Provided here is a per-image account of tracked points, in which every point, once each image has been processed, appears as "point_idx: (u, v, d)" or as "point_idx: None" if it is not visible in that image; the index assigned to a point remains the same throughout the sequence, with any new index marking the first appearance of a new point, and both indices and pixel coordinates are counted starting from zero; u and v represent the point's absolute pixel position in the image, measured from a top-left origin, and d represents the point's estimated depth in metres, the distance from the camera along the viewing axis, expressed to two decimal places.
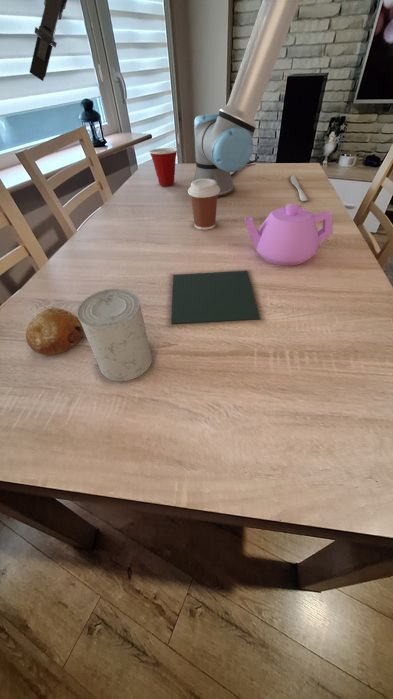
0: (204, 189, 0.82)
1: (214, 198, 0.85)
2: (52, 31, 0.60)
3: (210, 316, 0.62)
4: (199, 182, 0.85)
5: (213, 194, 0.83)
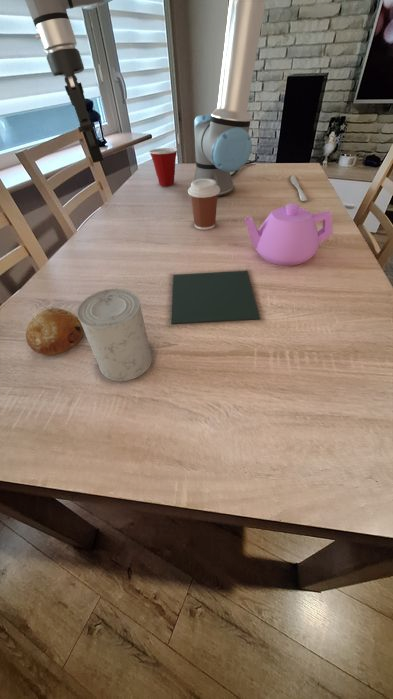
0: (204, 189, 0.82)
1: (214, 198, 0.85)
2: (88, 118, 0.69)
3: (210, 316, 0.62)
4: (199, 182, 0.85)
5: (213, 194, 0.83)
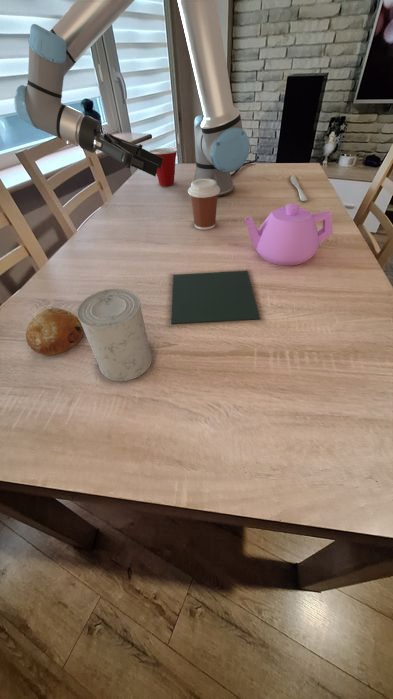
0: (204, 189, 0.82)
1: (214, 198, 0.85)
2: (122, 153, 0.73)
3: (210, 316, 0.62)
4: (199, 182, 0.85)
5: (213, 194, 0.83)
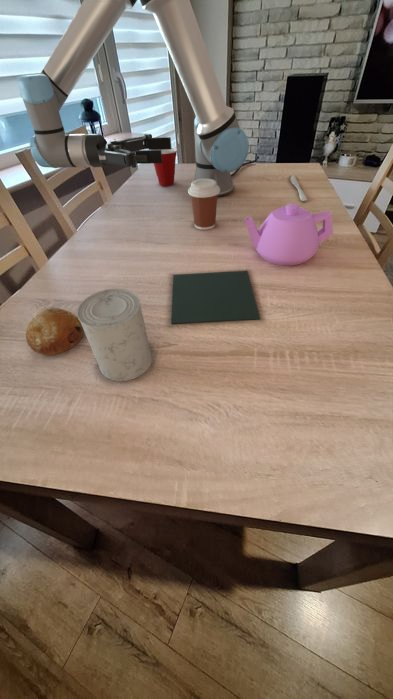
0: (204, 189, 0.82)
1: (214, 198, 0.85)
2: (123, 156, 0.73)
3: (210, 316, 0.62)
4: (199, 182, 0.85)
5: (213, 194, 0.83)
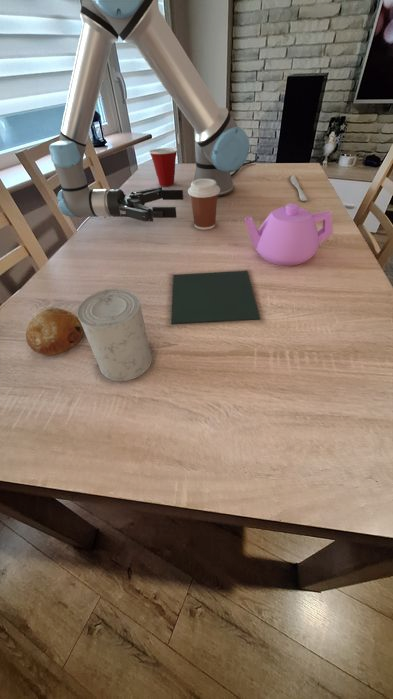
0: (204, 189, 0.82)
1: (214, 198, 0.85)
2: (142, 213, 0.83)
3: (210, 316, 0.62)
4: (199, 182, 0.85)
5: (213, 194, 0.83)
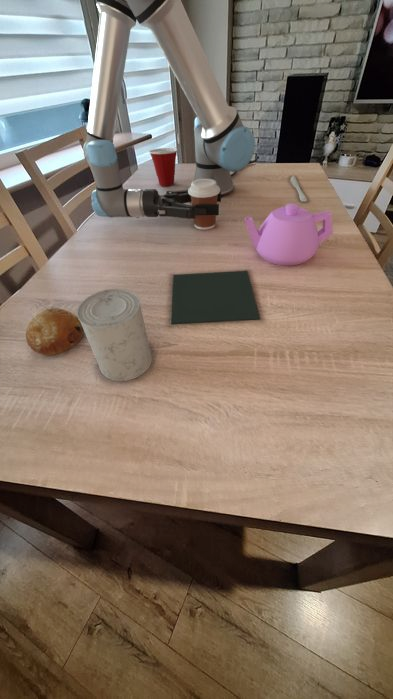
0: (204, 189, 0.82)
1: (214, 198, 0.85)
2: (186, 210, 0.82)
3: (210, 316, 0.62)
4: (199, 182, 0.85)
5: (213, 194, 0.83)
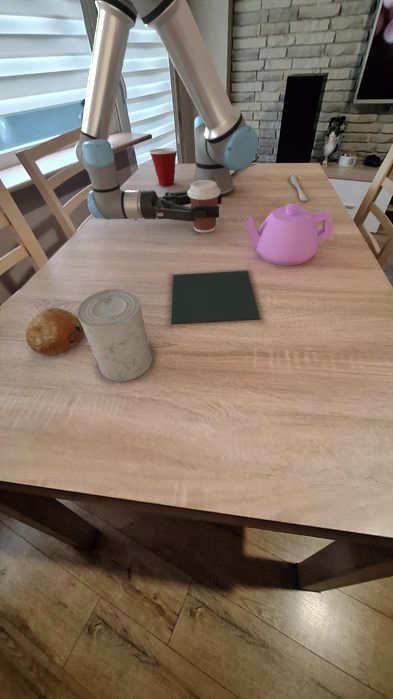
0: (204, 191, 0.79)
1: (214, 200, 0.82)
2: (185, 213, 0.80)
3: (210, 316, 0.62)
4: (199, 183, 0.82)
5: (213, 196, 0.80)
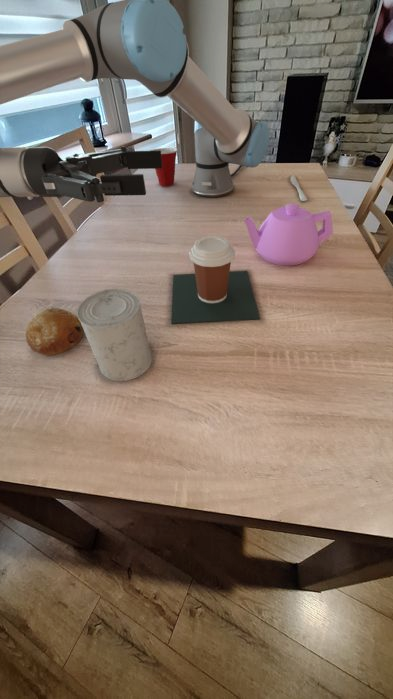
0: (213, 255, 0.57)
1: (226, 266, 0.59)
2: (80, 185, 0.44)
3: (210, 316, 0.62)
4: (205, 242, 0.59)
5: (226, 262, 0.57)
